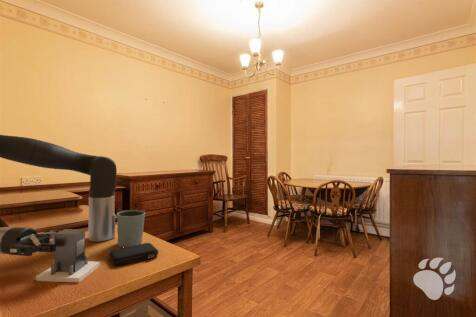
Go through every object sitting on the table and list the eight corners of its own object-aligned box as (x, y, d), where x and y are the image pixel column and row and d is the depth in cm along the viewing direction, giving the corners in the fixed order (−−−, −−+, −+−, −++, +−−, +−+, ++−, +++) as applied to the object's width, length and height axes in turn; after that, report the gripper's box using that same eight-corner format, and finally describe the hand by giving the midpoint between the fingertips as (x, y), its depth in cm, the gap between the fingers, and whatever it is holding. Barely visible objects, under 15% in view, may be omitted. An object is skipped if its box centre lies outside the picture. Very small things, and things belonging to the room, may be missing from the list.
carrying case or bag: (113, 270, 75) (161, 259, 84) (113, 260, 75) (161, 250, 84) (107, 258, 84) (151, 248, 93) (107, 249, 84) (151, 240, 93)
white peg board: (62, 264, 78) (62, 252, 78) (100, 265, 78) (100, 253, 78) (35, 280, 68) (35, 267, 68) (79, 282, 68) (79, 269, 68)
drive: (65, 265, 75) (65, 228, 74) (85, 265, 75) (85, 229, 74) (54, 271, 71) (54, 233, 70) (75, 272, 70) (76, 234, 70)
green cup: (117, 240, 99) (117, 210, 99) (144, 237, 103) (144, 208, 103) (115, 250, 90) (116, 217, 89) (145, 246, 94) (145, 215, 93)
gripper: (-14, 236, 66) (46, 238, 65) (31, 220, 80) (81, 222, 80) (-14, 264, 66) (46, 266, 66) (31, 244, 80) (81, 245, 80)
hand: (65, 242), depth 73 cm, fingers open, 8 cm apart
